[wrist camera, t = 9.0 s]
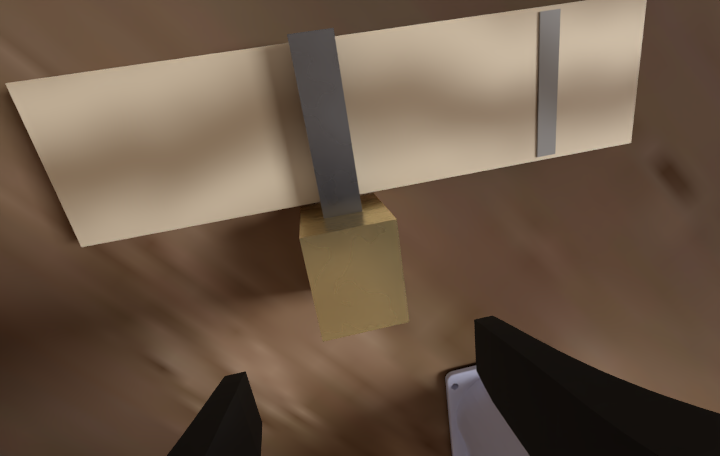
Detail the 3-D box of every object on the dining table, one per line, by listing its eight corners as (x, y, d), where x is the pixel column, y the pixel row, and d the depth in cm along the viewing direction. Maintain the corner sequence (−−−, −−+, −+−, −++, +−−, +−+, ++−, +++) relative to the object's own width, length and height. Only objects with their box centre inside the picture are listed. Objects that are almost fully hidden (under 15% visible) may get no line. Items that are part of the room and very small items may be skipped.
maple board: (607, 140, 20) (632, 142, 18) (99, 236, 17) (79, 247, 16) (619, 1, 17) (649, -9, 16) (33, 86, 15) (3, 83, 13)
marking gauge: (385, 274, 20) (409, 322, 16) (318, 288, 20) (322, 341, 15) (351, 40, 16) (370, 8, 11) (266, 52, 16) (250, 25, 11)
